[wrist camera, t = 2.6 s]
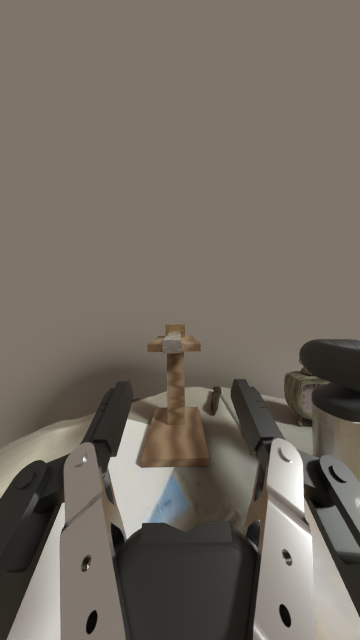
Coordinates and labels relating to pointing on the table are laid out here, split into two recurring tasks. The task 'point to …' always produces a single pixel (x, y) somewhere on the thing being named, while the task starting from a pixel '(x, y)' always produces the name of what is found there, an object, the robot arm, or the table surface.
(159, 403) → the table surface
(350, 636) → the table surface
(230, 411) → the table surface
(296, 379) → the tabletop clock
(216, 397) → the hand tool
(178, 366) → the stand
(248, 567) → the robot arm
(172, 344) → the bar
